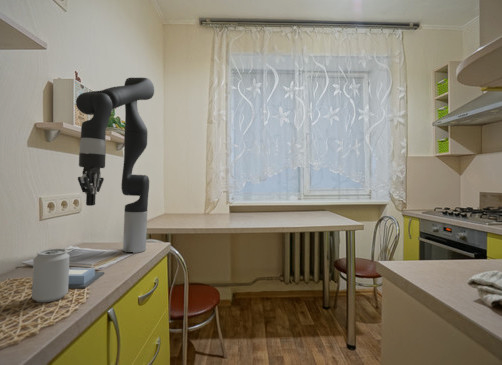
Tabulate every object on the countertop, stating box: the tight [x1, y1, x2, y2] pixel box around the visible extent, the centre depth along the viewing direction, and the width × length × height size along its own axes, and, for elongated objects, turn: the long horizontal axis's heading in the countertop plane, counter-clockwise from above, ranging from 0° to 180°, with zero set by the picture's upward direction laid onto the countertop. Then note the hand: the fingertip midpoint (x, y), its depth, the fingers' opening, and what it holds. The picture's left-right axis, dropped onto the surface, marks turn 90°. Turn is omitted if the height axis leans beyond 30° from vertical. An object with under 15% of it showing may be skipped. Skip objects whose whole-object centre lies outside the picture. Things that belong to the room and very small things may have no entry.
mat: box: [68, 271, 105, 289], centre depth 80 cm, size 12×14×1 cm
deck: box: [68, 268, 96, 284], centre depth 79 cm, size 2×9×6 cm
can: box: [31, 248, 71, 303], centre depth 69 cm, size 8×8×12 cm
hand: (90, 205), depth 88 cm, fingers closed
